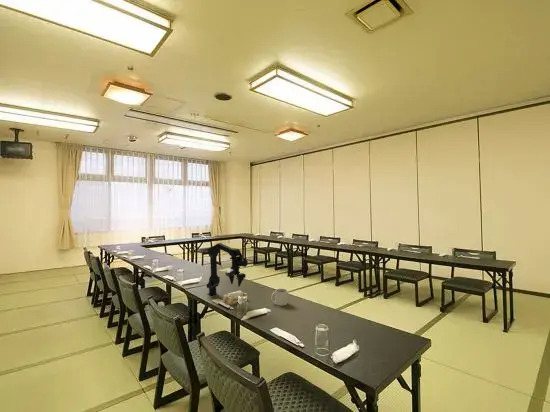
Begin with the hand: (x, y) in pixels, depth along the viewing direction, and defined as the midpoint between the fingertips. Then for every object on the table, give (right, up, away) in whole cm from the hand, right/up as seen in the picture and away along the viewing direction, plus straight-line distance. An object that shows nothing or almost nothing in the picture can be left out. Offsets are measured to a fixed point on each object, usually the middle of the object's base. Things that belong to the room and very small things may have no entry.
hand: (235, 285), depth 213 cm
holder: (0, -12, 0) cm, 12 cm away
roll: (0, -8, 0) cm, 8 cm away
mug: (+35, -12, -7) cm, 37 cm away
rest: (-4, -12, +12) cm, 17 cm away
